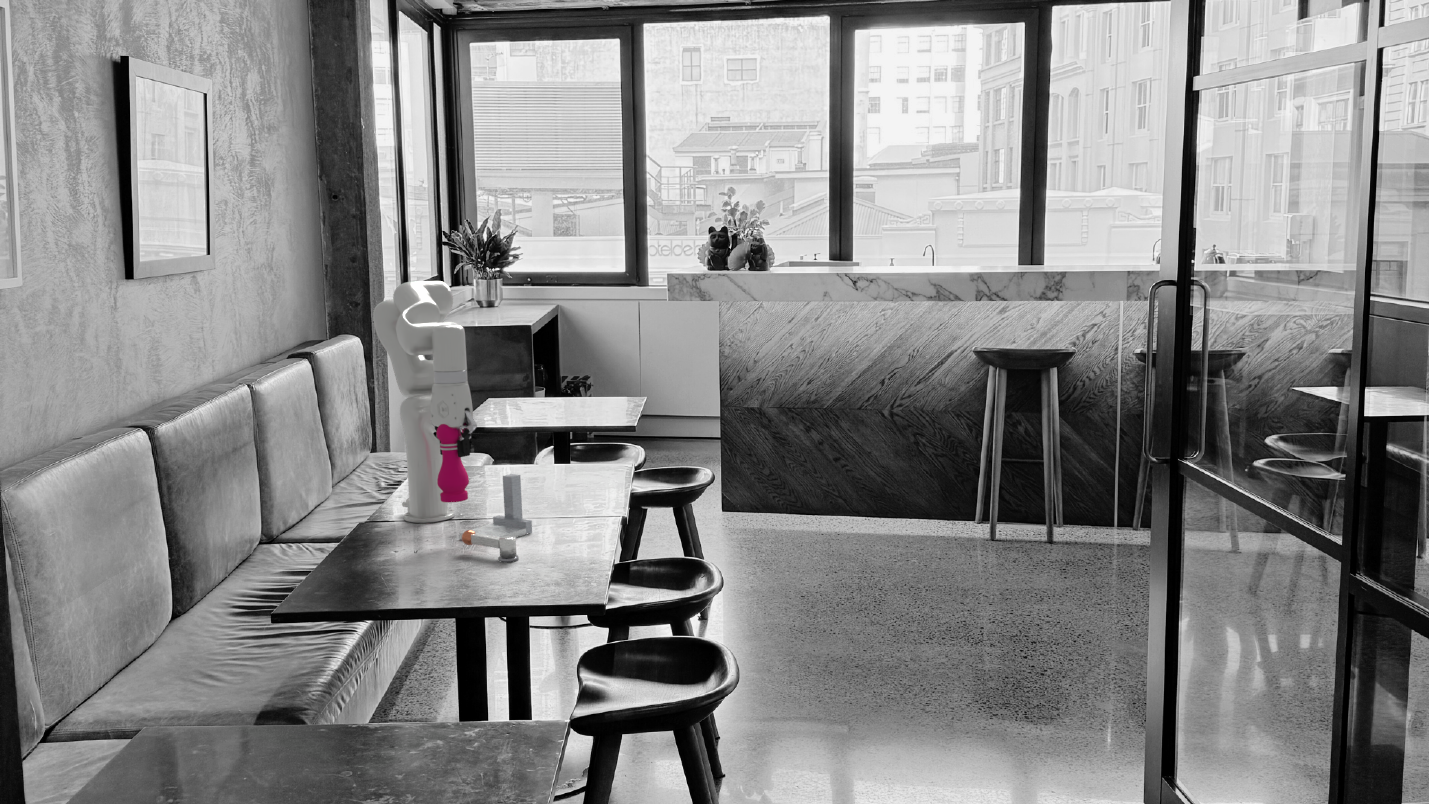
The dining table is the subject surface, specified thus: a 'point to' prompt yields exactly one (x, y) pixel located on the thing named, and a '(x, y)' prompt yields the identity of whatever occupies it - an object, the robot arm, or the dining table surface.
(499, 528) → the press bed
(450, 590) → the dining table surface
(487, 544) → the lever
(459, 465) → the pepper mill
